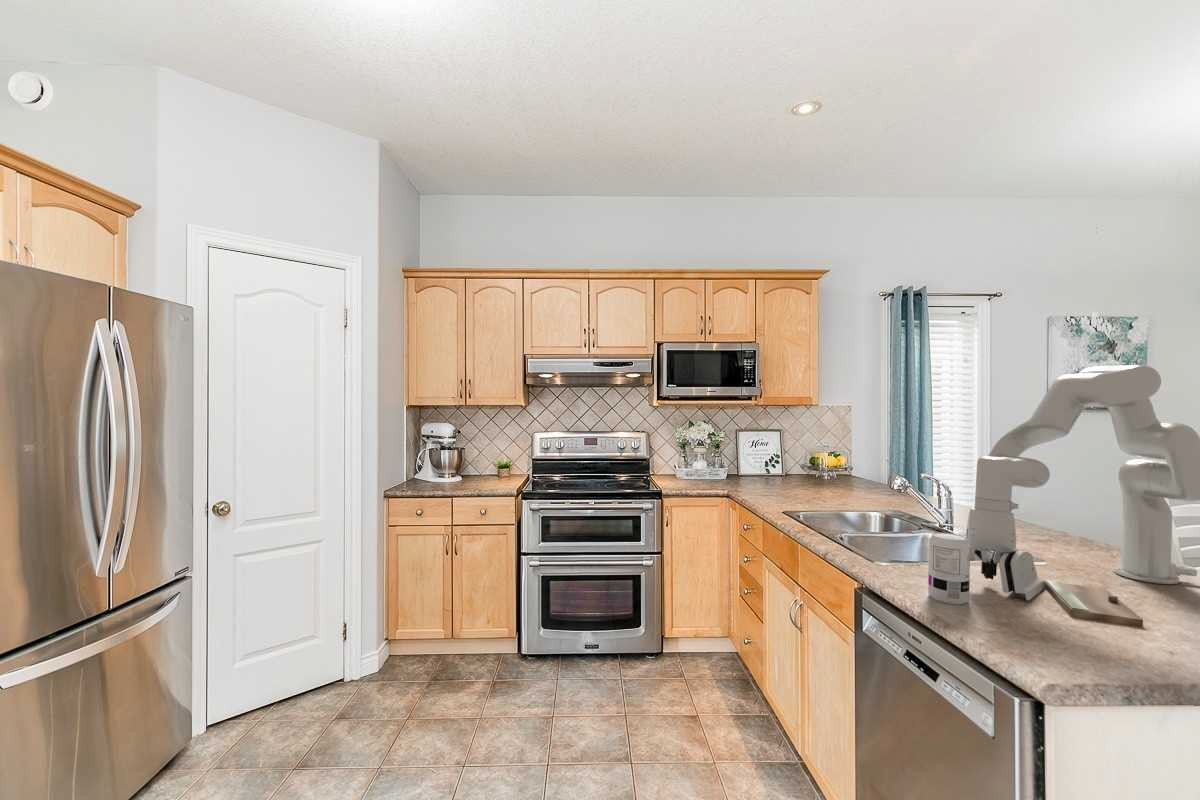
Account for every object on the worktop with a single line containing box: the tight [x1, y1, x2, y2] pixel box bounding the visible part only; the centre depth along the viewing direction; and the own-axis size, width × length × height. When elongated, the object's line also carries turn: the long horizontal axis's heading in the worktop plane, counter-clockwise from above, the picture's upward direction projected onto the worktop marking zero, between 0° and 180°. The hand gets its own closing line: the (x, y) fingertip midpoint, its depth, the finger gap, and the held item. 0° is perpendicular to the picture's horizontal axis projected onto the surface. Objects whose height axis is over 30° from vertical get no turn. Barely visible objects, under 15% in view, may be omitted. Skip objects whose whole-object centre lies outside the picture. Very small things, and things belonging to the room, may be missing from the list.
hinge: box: [998, 550, 1045, 601], centre depth 137 cm, size 17×5×10 cm, turn 131°
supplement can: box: [927, 532, 971, 606], centre depth 132 cm, size 8×8×15 cm
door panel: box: [1043, 580, 1144, 628], centre depth 129 cm, size 12×21×3 cm, turn 154°
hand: (988, 577), depth 141 cm, fingers closed
